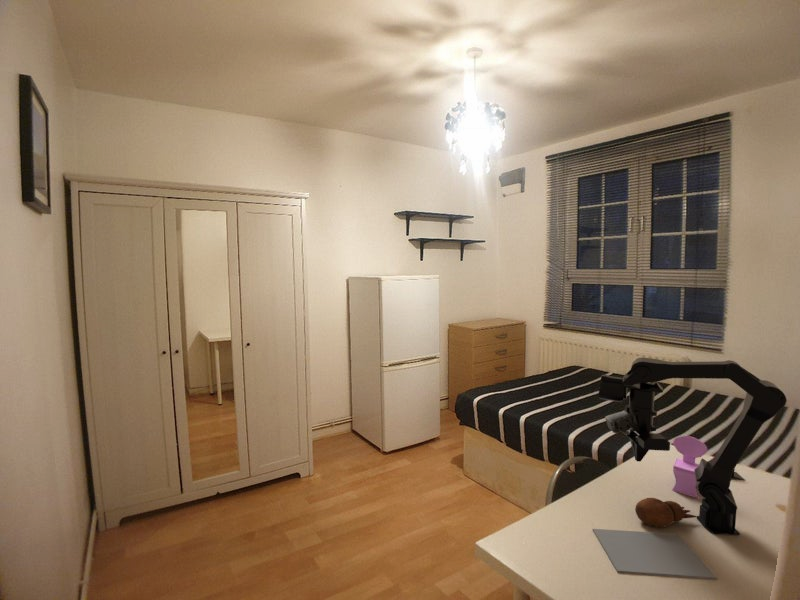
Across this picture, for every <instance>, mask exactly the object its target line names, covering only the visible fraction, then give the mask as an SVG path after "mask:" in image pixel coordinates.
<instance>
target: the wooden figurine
mask: <svg viewBox="0 0 800 600" xmlns="http://www.w3.org/2000/svg"><path fill="white" fill-rule="evenodd" d="M690 513H691V510H690V509H685V506H681V504H679V503H678V502H676V501H673V500H672V501H671V500H665V501H663V500H660V499H659V498H656V497H646V498H644V499H641V500H639V501H637V503H636V505H635V515H636V516H637V518H638V519H639V520H640V521H641V522H642V523H643V524H644V525H645V524H646V525H647V526H650V527H653V528H665V527H669V526H671V525H672V524H673V523H675V522H680V521H683V519H692V518H693V519H695V518H697V516H698V515H693V514H690Z"/></svg>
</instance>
